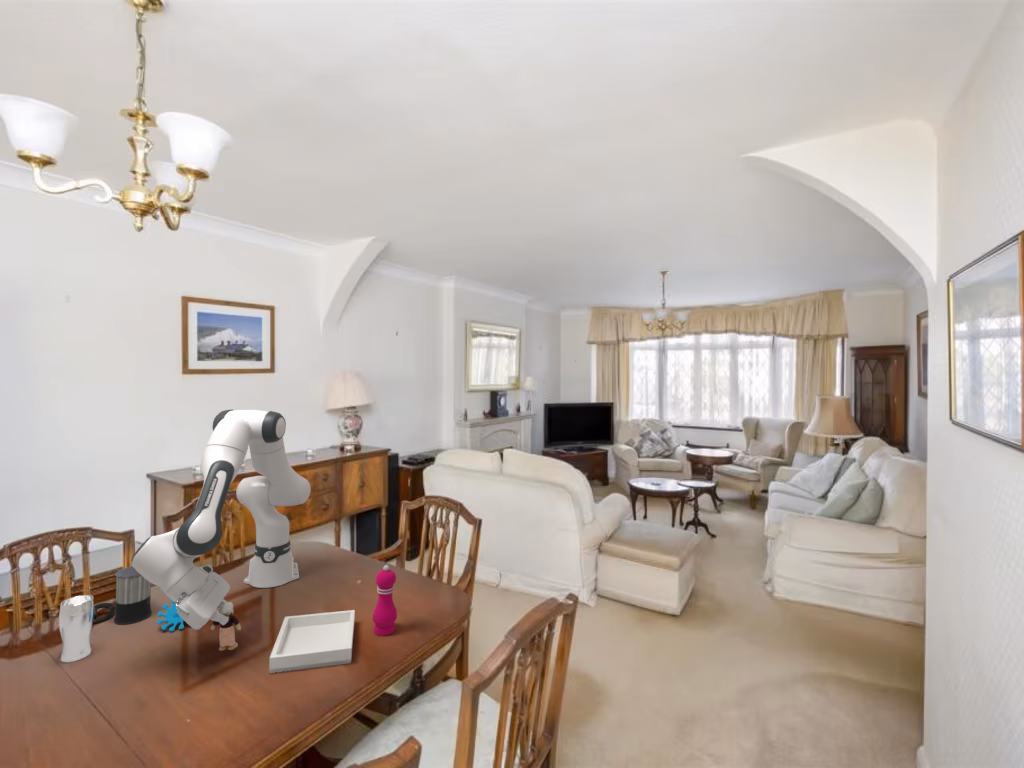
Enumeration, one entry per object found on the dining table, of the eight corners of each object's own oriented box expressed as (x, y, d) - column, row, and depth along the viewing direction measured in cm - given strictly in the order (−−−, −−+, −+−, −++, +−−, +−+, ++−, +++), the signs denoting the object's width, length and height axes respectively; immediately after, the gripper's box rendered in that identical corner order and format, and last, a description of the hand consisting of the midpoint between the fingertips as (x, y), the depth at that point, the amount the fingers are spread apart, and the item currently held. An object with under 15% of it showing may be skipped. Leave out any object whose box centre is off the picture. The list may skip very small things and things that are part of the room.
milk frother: (154, 618, 149) (155, 570, 149) (87, 636, 137) (88, 585, 137) (145, 602, 158) (146, 558, 158) (81, 619, 147) (82, 571, 147)
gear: (150, 630, 139) (164, 595, 146) (153, 637, 142) (166, 603, 149) (194, 630, 142) (205, 596, 149) (196, 637, 146) (206, 603, 153)
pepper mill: (367, 630, 145) (369, 564, 145) (388, 622, 150) (390, 558, 150) (380, 639, 140) (382, 571, 140) (401, 630, 145) (403, 565, 145)
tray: (284, 630, 144) (285, 616, 144) (354, 622, 149) (354, 609, 149) (269, 673, 123) (269, 658, 123) (350, 663, 128) (351, 648, 128)
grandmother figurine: (243, 640, 134) (244, 597, 133) (240, 649, 130) (241, 605, 129) (212, 644, 131) (212, 600, 130) (208, 653, 128) (208, 608, 127)
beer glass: (65, 651, 130) (66, 596, 130) (97, 646, 132) (98, 592, 132) (52, 666, 123) (54, 608, 123) (86, 660, 126) (88, 603, 126)
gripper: (183, 594, 118) (226, 629, 121) (210, 562, 137) (248, 592, 140) (161, 614, 117) (206, 648, 119) (193, 579, 136) (230, 609, 139)
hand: (229, 618), depth 130 cm, fingers closed on grandmother figurine, 2 cm apart
